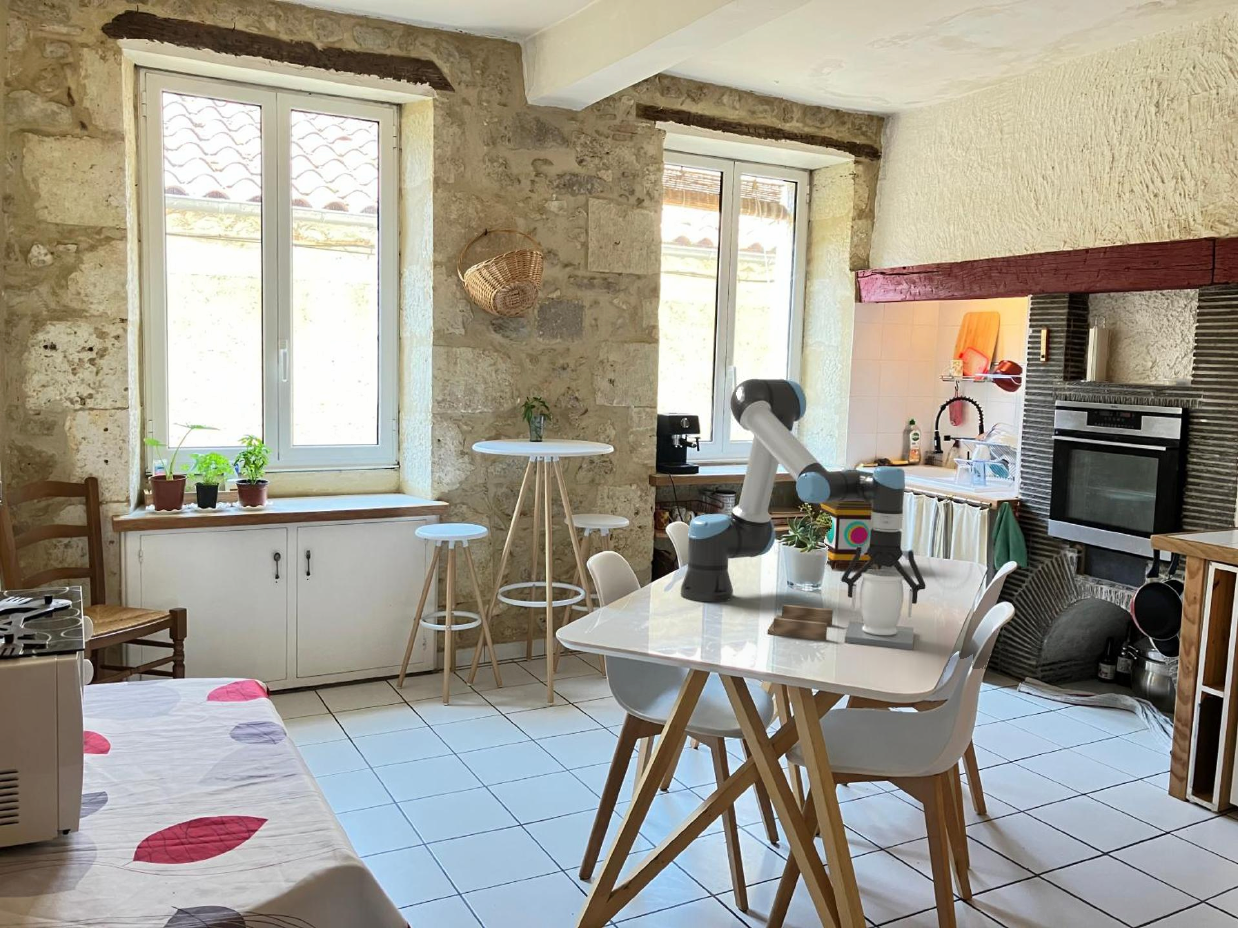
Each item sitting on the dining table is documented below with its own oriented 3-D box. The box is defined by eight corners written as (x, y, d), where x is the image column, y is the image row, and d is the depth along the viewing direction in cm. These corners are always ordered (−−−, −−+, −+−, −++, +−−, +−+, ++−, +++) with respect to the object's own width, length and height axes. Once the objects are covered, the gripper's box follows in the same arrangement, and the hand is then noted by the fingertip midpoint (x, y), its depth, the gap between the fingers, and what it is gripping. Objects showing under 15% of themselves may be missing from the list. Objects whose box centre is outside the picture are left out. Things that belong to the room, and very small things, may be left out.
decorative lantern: (811, 559, 348) (815, 474, 345) (865, 559, 350) (870, 475, 347) (829, 571, 328) (834, 481, 325) (886, 571, 330) (891, 482, 327)
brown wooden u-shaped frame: (767, 633, 247) (768, 618, 247) (777, 618, 263) (777, 603, 262) (825, 640, 243) (826, 624, 242) (832, 624, 258) (832, 609, 258)
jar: (877, 639, 240) (881, 578, 238) (849, 628, 249) (852, 570, 247) (910, 634, 245) (913, 575, 243) (881, 624, 254) (884, 567, 252)
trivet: (844, 642, 242) (844, 636, 242) (849, 626, 257) (849, 620, 257) (912, 649, 237) (912, 643, 237) (913, 633, 252) (913, 627, 252)
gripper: (833, 527, 244) (828, 611, 246) (939, 535, 237) (933, 621, 239) (836, 523, 251) (831, 604, 254) (938, 530, 244) (933, 614, 246)
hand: (881, 613), depth 246 cm, fingers open, 13 cm apart
